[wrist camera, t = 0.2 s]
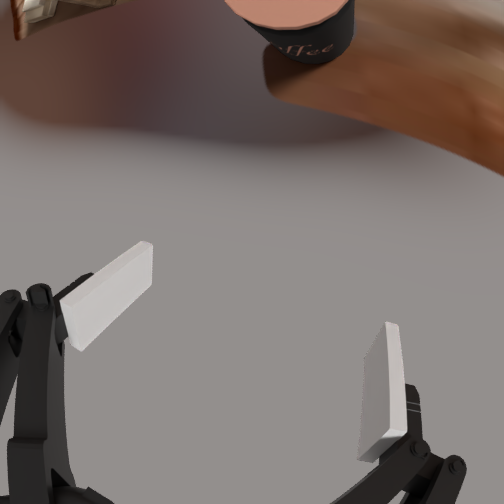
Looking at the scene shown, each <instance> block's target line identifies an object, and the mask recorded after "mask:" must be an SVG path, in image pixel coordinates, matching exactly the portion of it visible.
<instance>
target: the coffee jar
mask: <svg viewBox="0 0 504 504" xmlns="http://www.w3.org/2000/svg"><path fill="white" fill-rule="evenodd" d="M224 1H225V3H226V4H227V5H228V6H229V7H230V8H231V9H232V10H233V11H234V12H235V13H236V14H237V15H238V16H240V17H242V18H243V19H244V20H245V21H246V22H247V23H248V24H249V25H250V26H251V27H252V28H254V29H255V30H256V31H257V32H258V33H260V34H261V35H262V36H263V37H264V38H265V39H266V40H268V41H269V42H270V43H271V44H272V45H273V46H274V47H275V48H277V49H278V50H279V51H280V52H281V53H282V54H284V55H286V56H287V57H289V58H290V59H292V60H295V61H298V62H301V63H305V64H320V63H324V62H328V61H331V60H333V59H335V58H336V57H338V56H340V55H341V54H342V53H343V52H344V51H345V50H346V49H347V47H348V46H349V45H350V42H351V39H352V36H353V28H354V1H355V0H224Z"/></svg>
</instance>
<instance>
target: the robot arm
mask: <svg viewBox="0 0 504 504" xmlns="http://www.w3.org/2000/svg"><path fill="white" fill-rule="evenodd" d="M152 257H153V244H151V243H148V242H145V241H141V242H139V243H138V244H136V245H135V246H133V247H132V248H130V249H129V250H128V251H126V252H125V253H123V254H122V255H120V256H119V257H118V258H116V259H115V260H113V261H112V262H111V263H109V264H108V265H106V266H105V267H104V268H102V269H101V270H100V271H98V272H97V273H96V274H93V273H88V274H85V275H82V276H81V277H79V278H78V279H77V280H75V282H72V283H71V284H70V286H67V287H66V288H65V289H63V290H62V291H60V292H59V293H58V294H56V295H55V296H54V297H52V292H51V288H50V287H49V285H46V284H42V283H40V284H35V285H33V286H31V287H29V288H28V289H27V291H26V295H27V299H28V301H25V300H22V298H21V294H20V292H19V291H17V290H7V291H5V292H3V293H2V294H1V295H0V425H1V422H2V418H3V415H4V412H5V409H6V405H7V402H8V399H9V396H10V394H11V390H12V388H13V385H14V382H15V379H16V377H17V374H18V378H17V388H16V399H15V400H16V401H15V415H14V436H13V438H11V439H9V440H8V444H7V465H8V484H9V495H6V496H0V504H114V503H113V502H112V501H110V500H109V499H107V498H105V497H104V496H102V495H101V494H99V493H97V492H96V491H94V490H93V489H91V488H90V487H88V488H87V489H82V488H79V487H76V484H75V480H74V477H73V474H72V472H71V469H70V465H69V458H68V449H67V439H66V426H65V410H64V409H65V407H64V349H65V344H64V340H65V339H66V338H67V337H68V338H69V341H70V345H72V346H73V347H75V348H76V349H78V350H80V351H83V350H84V349H85V348H86V347H87V346H88V345H89V344H90V343H91V342H92V341H93V340H94V339H95V338H96V337H97V336H98V335H99V334H100V333H101V332H102V331H103V330H104V329H105V328H106V327H107V326H108V325H109V324H110V323H111V322H112V321H114V319H116V318H117V316H119V315H120V314H121V313H122V312H123V311H124V310H125V309H126V308H127V307H128V306H129V305H130V304H131V303H132V302H133V301H135V300H136V299H137V298H138V297H139V296H140V295H141V294H142V293H143V292H144V291H145V290H146V289H147V288H148V287H149V286H151V284H152ZM420 411H421V409H420V399H419V394H418V392H417V390H416V388H415V386H413V385H409V384H405V381H404V370H403V360H402V351H401V343H400V335H399V328H398V325H396V324H393V323H390V322H386V321H385V323H384V325H383V327H382V328H381V330H380V332H379V334H378V335H377V338H376V339H375V341H374V342H373V344H372V346H371V348H370V349H369V351H368V353H367V354H366V356H365V358H364V384H363V401H362V415H361V428H360V437H359V448H358V456H357V460H360V461H365V462H372V463H373V462H374V461H375V460H376V459H378V458H379V465H378V466H377V467H376V468H374V469H373V470H372V471H371V472H369V473H368V475H367V476H365V477H364V478H363V479H362V480H360V481H359V482H358V483H357V484H355V485H354V486H353V487H352V488H350V489H349V490H348V491H347V492H345V493H344V494H343V495H341V496H340V497H339V498H337V499H336V500H335V501H333V502H332V503H330V504H388V503H389V502H390V501H391V500H392V499H393V498H394V497H395V496H396V495H397V494H398V493H399V492H400V491H401V490H403V491H405V492H406V493H405V495H404V497H403V499H402V500H401V502H400V504H455V502H456V499H457V496H458V494H459V491H460V489H461V486H462V483H463V481H464V478H465V475H466V470H467V468H466V464H465V462H464V460H463V459H462V458H461V457H460V456H456V455H451V456H449V457H448V458H446V459H443V458H441V457H438V456H437V455H434V454H433V453H431V452H430V451H431V450H430V447H429V445H428V444H427V443H426V441H424V440H423V438H422V421H421V413H420Z"/></svg>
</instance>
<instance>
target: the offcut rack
mask: <svg viewBox="0 0 504 504" xmlns="http://www.w3.org/2000/svg"><path fill="white" fill-rule="evenodd" d="M58 1H63V2H69V3H74V4H80V5H84V6H89V7H94V8H101V7H106V6H111V5H115V3H116V0H25V3H24V6H23V10H22V12H26V15H25V19H24V23H30V22H32V23H35V22H38V21H40V20H43V19H46V18H49V17H52V16H54V14H55V10H56V6H57V2H58Z"/></svg>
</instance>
